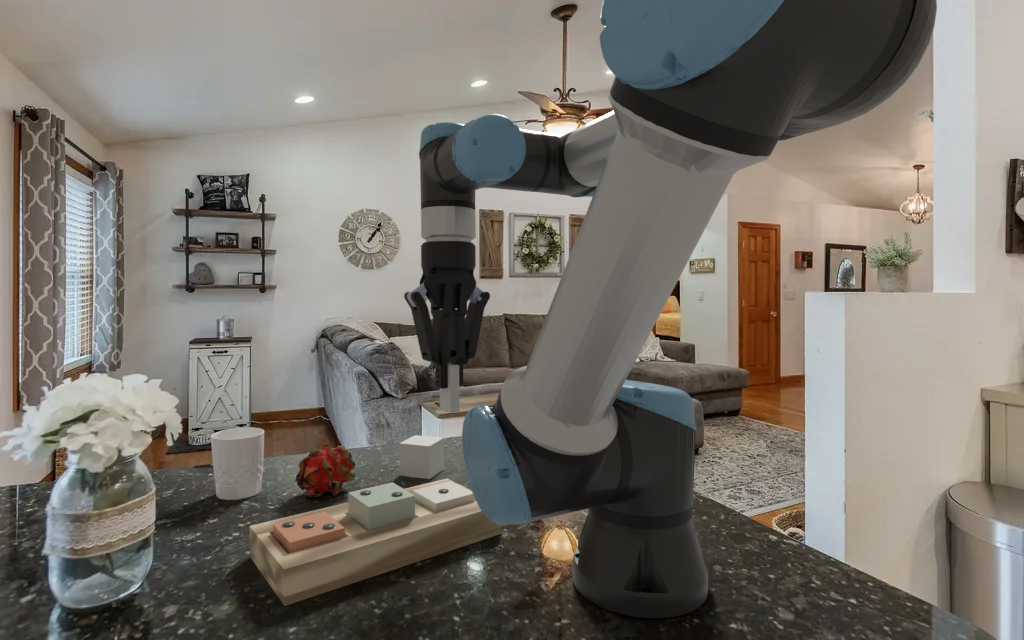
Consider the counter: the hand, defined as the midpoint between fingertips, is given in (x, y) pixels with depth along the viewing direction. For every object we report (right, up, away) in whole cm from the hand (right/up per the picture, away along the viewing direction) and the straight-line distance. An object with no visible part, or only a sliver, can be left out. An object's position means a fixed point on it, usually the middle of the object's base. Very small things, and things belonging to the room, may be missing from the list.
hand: (449, 410), depth 80 cm
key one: (-1, -16, +1) cm, 16 cm away
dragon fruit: (-22, -16, +14) cm, 30 cm away
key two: (-8, -14, -5) cm, 17 cm away
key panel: (-8, -17, -5) cm, 19 cm away
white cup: (-36, -16, +14) cm, 42 cm away
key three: (-16, -16, -11) cm, 25 cm away
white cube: (-8, -16, +25) cm, 30 cm away
